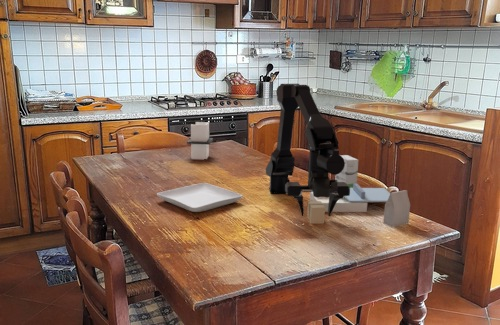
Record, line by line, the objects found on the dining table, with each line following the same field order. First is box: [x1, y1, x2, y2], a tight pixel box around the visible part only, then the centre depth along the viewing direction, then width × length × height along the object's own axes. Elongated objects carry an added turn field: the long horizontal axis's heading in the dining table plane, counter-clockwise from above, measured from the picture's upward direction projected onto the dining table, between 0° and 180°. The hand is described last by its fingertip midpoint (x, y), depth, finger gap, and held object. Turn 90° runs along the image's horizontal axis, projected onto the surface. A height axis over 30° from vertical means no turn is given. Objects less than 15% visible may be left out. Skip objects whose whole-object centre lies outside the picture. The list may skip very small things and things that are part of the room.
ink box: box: [334, 154, 359, 188], centre depth 178 cm, size 9×5×12 cm, turn 18°
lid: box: [345, 183, 391, 203], centre depth 159 cm, size 16×14×3 cm
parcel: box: [306, 200, 326, 224], centre depth 145 cm, size 4×6×5 cm
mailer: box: [309, 192, 368, 213], centre depth 160 cm, size 16×14×3 cm
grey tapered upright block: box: [382, 189, 411, 228], centre depth 143 cm, size 4×7×10 cm, turn 121°
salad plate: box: [156, 182, 244, 213], centre depth 160 cm, size 21×21×3 cm
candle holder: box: [186, 121, 214, 160], centre depth 221 cm, size 25×24×16 cm
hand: (315, 215), depth 145 cm, fingers open, 8 cm apart
